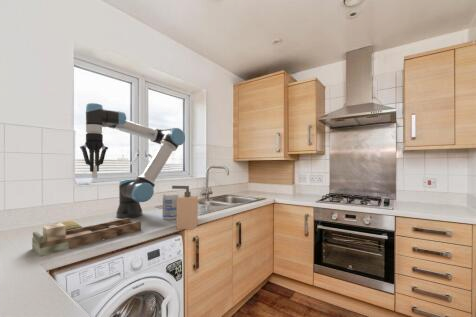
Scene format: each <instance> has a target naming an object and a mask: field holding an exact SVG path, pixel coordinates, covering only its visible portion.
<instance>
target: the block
mask: <svg viewBox="0 0 476 317" xmlns="http://www.w3.org/2000/svg"><path fill="white" fill-rule="evenodd" d="M58 223H59V224H56V223H54V224H50V225H43V226H42V236H43V242H50V241H54V240H59V239H63V238H66V226H65V225H63V224H62V222H58Z"/></svg>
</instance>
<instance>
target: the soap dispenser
mask: <svg viewBox="0 0 476 317" xmlns="http://www.w3.org/2000/svg"><path fill="white" fill-rule="evenodd" d="M171 188H172V189H173V190H185V191H184V193H183V194H184V195H181V196H180V195H179V197H178V198H177V218H176V229H177V230H184V231H186V230H188V231H189V230H191V231H192V230H194V229H195V228H196V227H197V226H198V220H199V219H198V218H199V217H198V215H199V212H198V210H199V208H198V207H199V206H198V202H199V201H198V200H199V198H198V197H199V196H198V195H191V193H192V192H191V191H190V185H172V186H171Z"/></svg>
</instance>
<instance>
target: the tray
mask: <svg viewBox="0 0 476 317" xmlns="http://www.w3.org/2000/svg"><path fill="white" fill-rule="evenodd" d="M141 230H142V221H141V220H138V221H132V220H131V218H119V219H116V220H111V221H106V222H102V223H101V222H100V223H96V224H93V225H87V226H82V228H77V229H72V230H67V231H66V238H63V239H59V240H54V241H50V242H43V234H40V233H39V232H38V231H33V232H32V238H31V239H32V241H31V242H32V243H31V245H32V250H33V251H34V252H35V253H36V254H37V255H38V256H39V257H43V256H46V255H51V254H55V253H59V252H64V251H66V250H70V249H74V248H78V247H82V246H85V245H89V244H92V243H93V244H94V243H97V242H100V240H101V241H104V240H103V239H105V240H108V239H107V238H109V239H112V238H111V237H113V238H116V237H120V236H124V235H128V234H132V233H135V232H139V231H141ZM115 236H116V237H115Z"/></svg>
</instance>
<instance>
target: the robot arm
mask: <svg viewBox="0 0 476 317" xmlns="http://www.w3.org/2000/svg"><path fill="white" fill-rule="evenodd" d="M104 128H110V129H114V130H117V131H120V132H123V133H127V134H129V135H134V136H137V137H140V138H144V139H147V140H149V141H151V142H152V143H155V144H159V145H160V146H159V148H158V149H157V150H156V152H155V153H154V154H153V157H152V158H151V160H150V162H148V164H147V166H146V168H145V169H144V171H143V172H142V173H141V175H137V177H136V178H135V179H134V178H133V179H132V178H131V179H121V180H120V181H119V185H118V188H119V190H118V191H119V194H118V195H119V196H118V197H119V202H118V203H119V204H118V207H117V210H116V215H115V216H116V218H118V219H125V218H130V219H131V218H136V217H140V216H142V215H143V209H142V207H141V204H140V203H145V202H148V201H150V200H151V198H153V196H154V192H155V189H154V188H155V186H156V183H155V181H156V180H157V179H158V176H159V175H160V173H161V171H162V170H163V168H164V166H165V165H166V164H167V162H168V160H169V158H170V157H171V155H172V153H173V152H176V151H177V150H178V148H179V146H182V145H184V144H185V141H186V134H185V132H184V130H182V129H181V128H179V127H173V128H167V129H159V128H157V127H155V128H151V127H148V126H144V125H142V124H140V123H135V122H133V121H130V120H127V114H126V113H125V112H123V111H117V110H110V109H104V107H103V105H102V104H99V103H95V102H94V103H93V102H91V103H90V102H89V103H87V104H86V106H85V142H84V144H82V145H80V146H79V148H80V150H81V151H82V155H83V158H84V162H85V165H87V166H89V172H90V173H91V178H92V179H98V172H99V170H100V165H101V166H102V165H103V164H104V160H105V156H106V152H107V150H108V149H109V147H108V146H105V145H104V143H103V140H104V139H103V138H104V137H103V136H104V135H103V133H104V132H103V129H104ZM87 149H88V151H87ZM100 151H101V153H100ZM88 153H89V154H88Z"/></svg>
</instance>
